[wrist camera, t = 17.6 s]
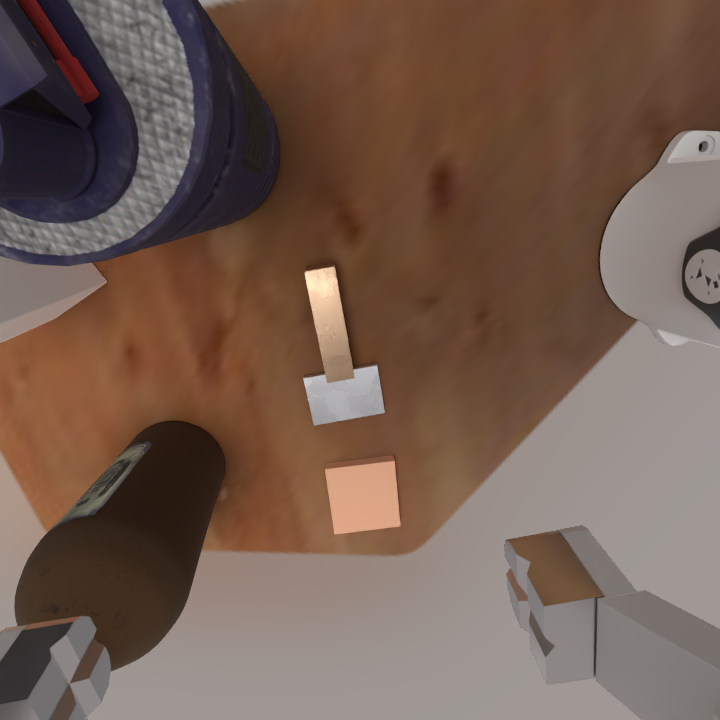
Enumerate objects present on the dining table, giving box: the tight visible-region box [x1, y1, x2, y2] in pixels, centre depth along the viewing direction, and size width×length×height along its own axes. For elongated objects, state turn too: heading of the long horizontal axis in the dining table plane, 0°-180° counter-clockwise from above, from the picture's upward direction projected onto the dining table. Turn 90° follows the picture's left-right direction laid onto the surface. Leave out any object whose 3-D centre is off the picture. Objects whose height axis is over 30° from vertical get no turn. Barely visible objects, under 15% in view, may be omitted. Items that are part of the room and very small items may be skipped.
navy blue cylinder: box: [0, 0, 280, 266], centre depth 23 cm, size 14×12×30 cm
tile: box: [325, 455, 400, 534], centre depth 48 cm, size 7×2×8 cm
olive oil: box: [15, 422, 225, 671], centre depth 34 cm, size 11×11×25 cm
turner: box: [303, 262, 385, 425], centre depth 42 cm, size 7×15×3 cm, turn 9°
